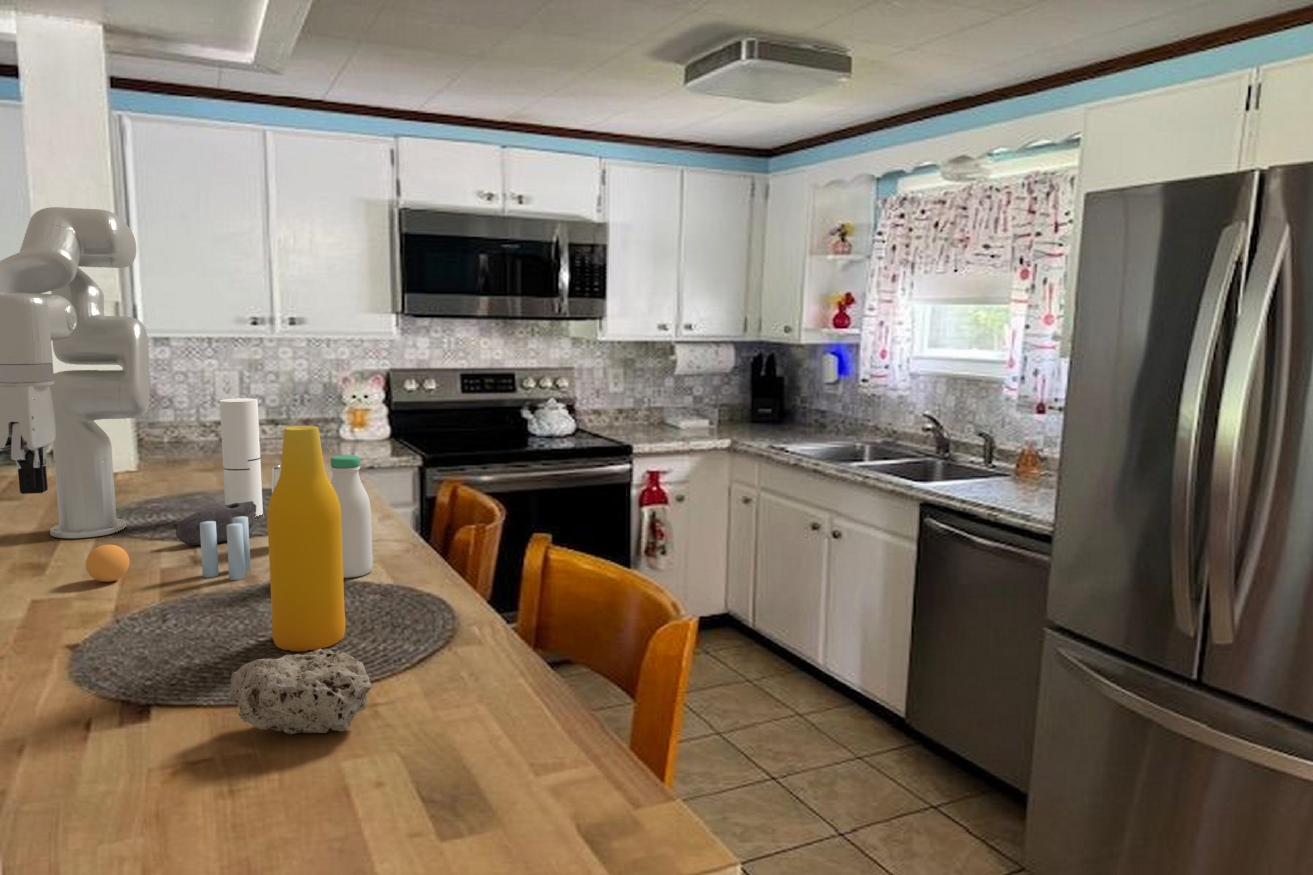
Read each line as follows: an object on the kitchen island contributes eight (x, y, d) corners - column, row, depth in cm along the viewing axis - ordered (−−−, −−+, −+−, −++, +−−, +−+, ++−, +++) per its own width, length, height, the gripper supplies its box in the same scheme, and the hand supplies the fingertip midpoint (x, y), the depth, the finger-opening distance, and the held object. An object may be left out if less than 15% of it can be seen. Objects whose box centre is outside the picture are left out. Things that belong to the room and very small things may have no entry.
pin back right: (236, 567, 152) (233, 516, 150) (251, 567, 152) (249, 516, 151) (233, 571, 149) (231, 519, 148) (249, 571, 150) (246, 519, 149)
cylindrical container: (270, 516, 189) (264, 399, 185) (238, 522, 183) (232, 402, 179) (250, 511, 192) (244, 397, 189) (218, 517, 187) (212, 400, 183)
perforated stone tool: (180, 551, 161) (178, 514, 160) (172, 545, 165) (170, 509, 164) (265, 538, 171) (263, 502, 170) (255, 532, 175) (253, 498, 174)
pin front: (204, 573, 148) (201, 521, 147) (220, 572, 149) (217, 520, 147) (201, 577, 146) (198, 524, 144) (217, 577, 146) (214, 524, 145)
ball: (94, 576, 145) (91, 541, 144) (135, 574, 147) (133, 539, 146) (81, 587, 140) (78, 551, 139) (124, 585, 141) (121, 549, 140)
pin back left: (230, 576, 147) (228, 523, 145) (246, 575, 147) (243, 522, 146) (227, 580, 144) (225, 527, 143) (243, 579, 145) (241, 526, 144)
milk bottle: (382, 569, 152) (379, 455, 149) (349, 581, 145) (345, 461, 142) (348, 563, 155) (344, 451, 152) (314, 575, 148) (309, 457, 145)
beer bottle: (272, 632, 122) (262, 424, 118) (343, 624, 126) (336, 422, 122) (272, 656, 114) (262, 433, 110) (348, 647, 117) (341, 431, 113)
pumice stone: (229, 763, 87) (224, 686, 86) (233, 713, 98) (229, 644, 97) (376, 738, 93) (373, 666, 92) (364, 693, 104) (362, 628, 102)
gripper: (17, 371, 142) (26, 484, 145) (-28, 379, 128) (-16, 503, 130) (70, 371, 144) (78, 482, 147) (32, 379, 130) (42, 501, 132)
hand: (34, 491), depth 139 cm, fingers closed
